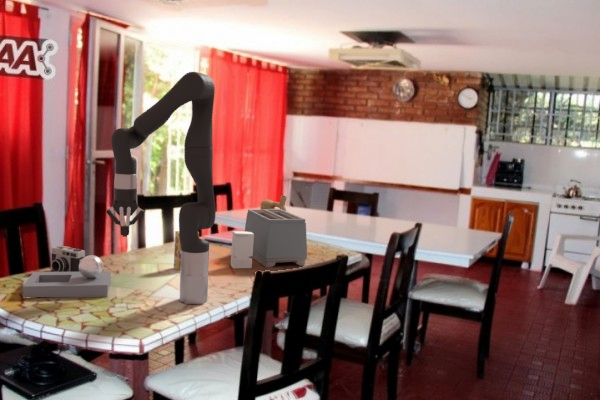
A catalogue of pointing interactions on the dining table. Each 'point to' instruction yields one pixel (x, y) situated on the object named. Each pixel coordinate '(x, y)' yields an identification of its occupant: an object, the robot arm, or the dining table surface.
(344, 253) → the dining table surface
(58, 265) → the camera
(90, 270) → the ball
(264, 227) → the toaster
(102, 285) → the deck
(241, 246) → the skincare box
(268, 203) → the tan irregular piece
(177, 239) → the candy box
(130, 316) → the dining table surface
